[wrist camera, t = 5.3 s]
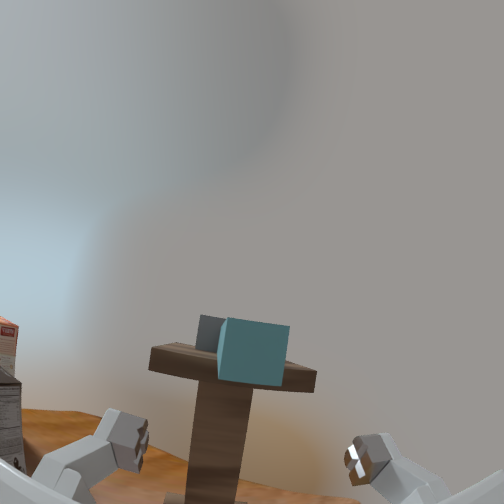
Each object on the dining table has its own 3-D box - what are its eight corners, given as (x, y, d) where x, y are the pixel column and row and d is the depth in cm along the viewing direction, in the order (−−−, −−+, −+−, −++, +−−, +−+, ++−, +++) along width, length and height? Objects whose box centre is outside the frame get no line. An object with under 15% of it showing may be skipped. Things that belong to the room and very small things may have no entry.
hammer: (329, 388, 13) (338, 312, 14) (165, 369, 12) (179, 287, 13) (261, 357, 33) (265, 326, 35) (196, 347, 33) (201, 316, 34)
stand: (269, 568, 15) (316, 370, 22) (140, 554, 13) (151, 347, 21) (252, 509, 29) (279, 358, 37) (159, 497, 28) (176, 342, 36)
